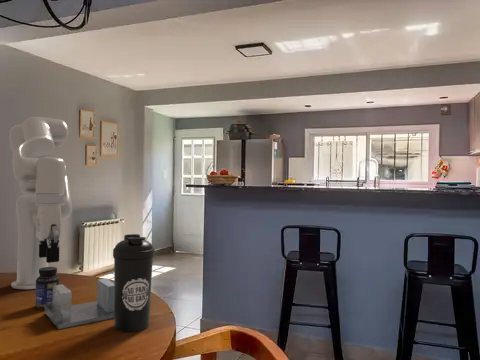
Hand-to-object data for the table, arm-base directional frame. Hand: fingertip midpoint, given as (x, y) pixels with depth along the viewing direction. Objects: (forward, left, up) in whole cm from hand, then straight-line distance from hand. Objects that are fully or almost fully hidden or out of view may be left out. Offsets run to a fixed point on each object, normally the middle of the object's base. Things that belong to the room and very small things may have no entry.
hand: (48, 259), depth 111 cm
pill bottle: (-1, 0, -14) cm, 14 cm away
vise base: (+12, +7, -14) cm, 20 cm away
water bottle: (+27, +14, -14) cm, 34 cm away
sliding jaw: (+12, +13, -13) cm, 22 cm away
